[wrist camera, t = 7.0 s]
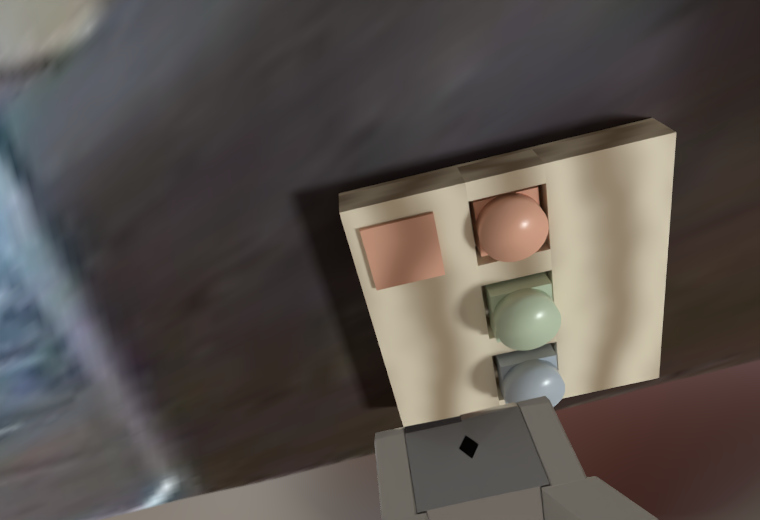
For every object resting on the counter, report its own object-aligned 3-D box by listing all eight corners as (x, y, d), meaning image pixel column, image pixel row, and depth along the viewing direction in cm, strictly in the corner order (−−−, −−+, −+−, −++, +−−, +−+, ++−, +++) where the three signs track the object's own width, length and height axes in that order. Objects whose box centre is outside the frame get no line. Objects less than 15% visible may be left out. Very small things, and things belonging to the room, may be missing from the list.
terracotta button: (473, 244, 40) (484, 268, 38) (465, 189, 38) (476, 211, 35) (534, 230, 40) (550, 253, 37) (530, 173, 38) (546, 194, 35)
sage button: (489, 327, 43) (500, 356, 40) (482, 280, 40) (493, 308, 38) (546, 314, 43) (562, 342, 40) (543, 266, 40) (559, 293, 37)
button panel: (401, 406, 50) (405, 434, 47) (338, 193, 38) (339, 214, 35) (641, 353, 48) (660, 380, 46) (652, 117, 37) (678, 133, 34)
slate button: (498, 388, 47) (509, 419, 44) (492, 349, 44) (504, 379, 41) (551, 377, 46) (566, 407, 43) (548, 337, 44) (563, 366, 41)
